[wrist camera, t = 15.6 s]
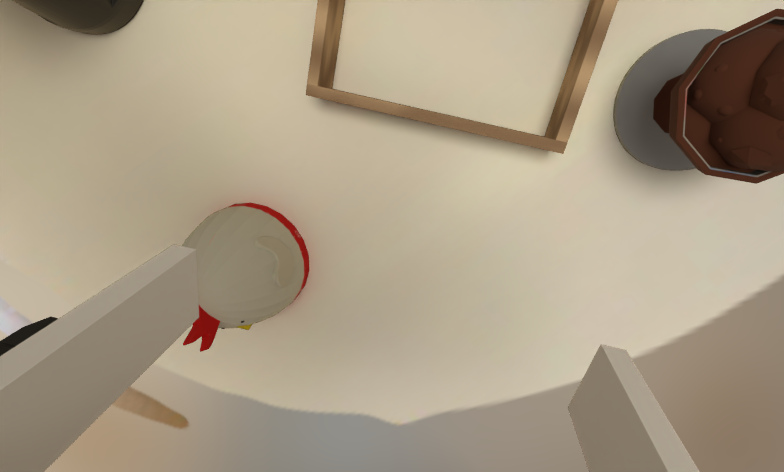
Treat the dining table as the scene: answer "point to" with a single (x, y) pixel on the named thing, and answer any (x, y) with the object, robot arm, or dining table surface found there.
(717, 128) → the ice cream bowl
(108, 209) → the dining table surface
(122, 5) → the robot arm
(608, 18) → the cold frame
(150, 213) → the dining table surface
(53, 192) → the dining table surface
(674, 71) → the coaster
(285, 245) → the kitchen timer
